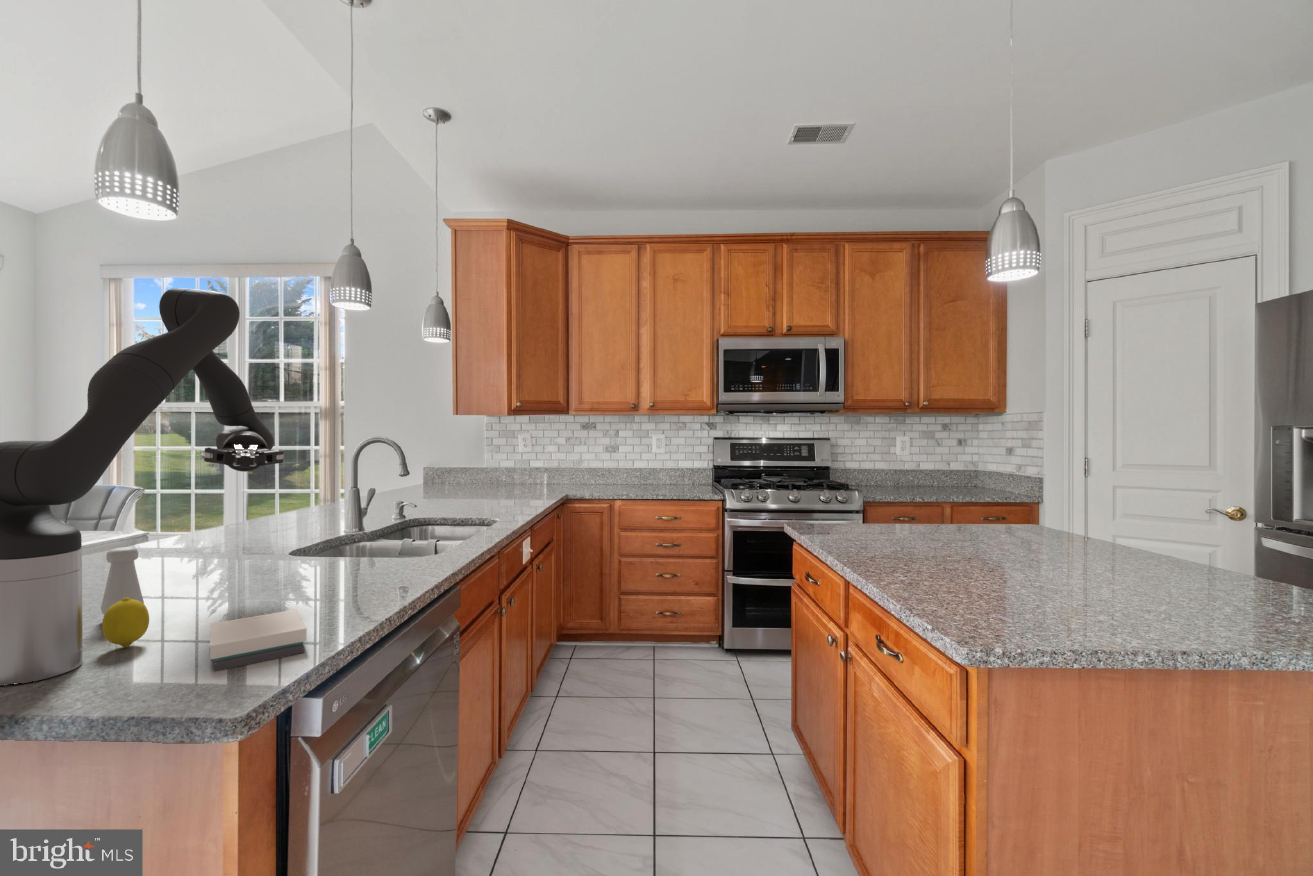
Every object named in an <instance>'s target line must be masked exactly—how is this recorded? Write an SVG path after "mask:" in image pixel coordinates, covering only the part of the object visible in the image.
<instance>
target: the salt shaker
mask: <svg viewBox="0 0 1313 876" xmlns="http://www.w3.org/2000/svg"><path fill="white" fill-rule="evenodd" d="M138 558H139V550H138V548H136V547H132V546H126V547H125V546H124V547H123V546H121V547H117V548H112V549H110V550H109V551H107V552H106V556H105V559H106V561H107V563H110V566H109V571H108V574H107V580H106V584H105V588H104V593H103V597H102V600H101V601H102V602H101V605H100V609H101V613H102V614H103V616H104V615H105V613H106V611H107V610H108V609H109V608H110V607H111V606H112V605H113V604H115V603H117V602H119V601H121V600H122V599H123V598H127V597H129V598H130V599H134V600H138V601H140V602H142V603H143V604H144V605H145V601H144V596H143V593H142V590H141V586H140V581H139V577H138V574H137V568H136V564H135V560H138Z"/></svg>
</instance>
